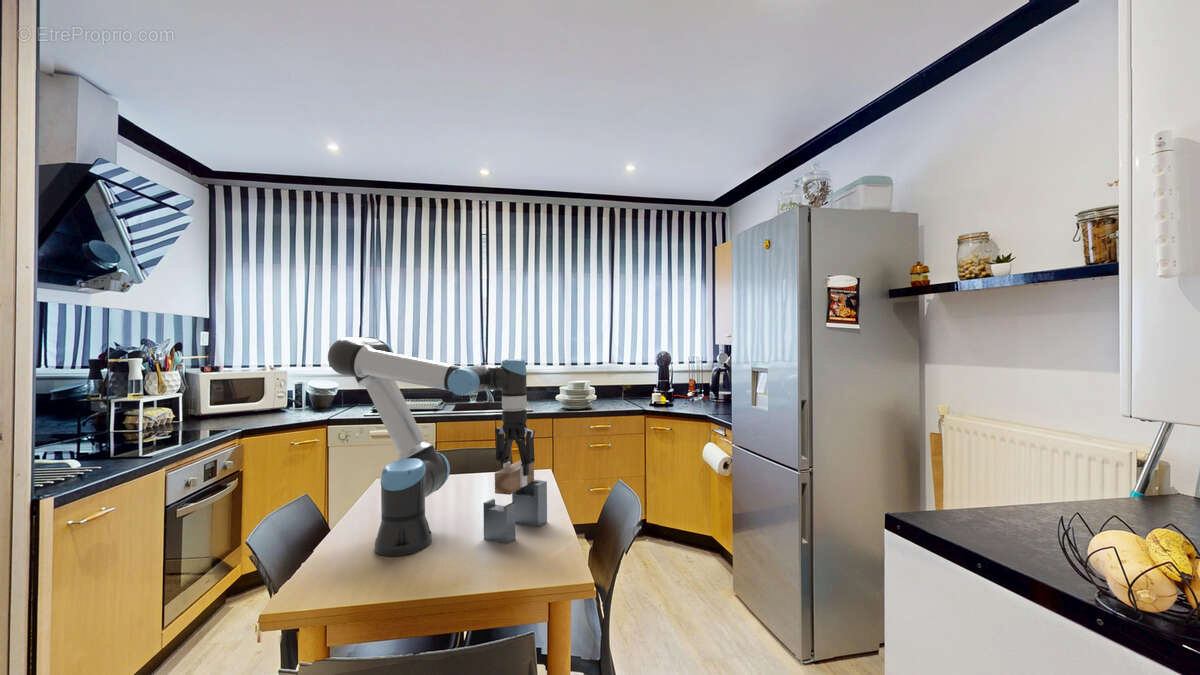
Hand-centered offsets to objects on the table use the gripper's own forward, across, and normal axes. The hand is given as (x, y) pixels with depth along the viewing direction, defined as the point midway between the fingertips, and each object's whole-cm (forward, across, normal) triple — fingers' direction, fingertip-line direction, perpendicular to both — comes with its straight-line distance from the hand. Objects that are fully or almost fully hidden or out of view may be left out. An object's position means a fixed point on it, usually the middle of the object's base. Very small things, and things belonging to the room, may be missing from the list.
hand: (515, 484), depth 149 cm
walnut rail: (+1, 0, 0) cm, 1 cm away
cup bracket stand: (+14, 0, 0) cm, 14 cm away
